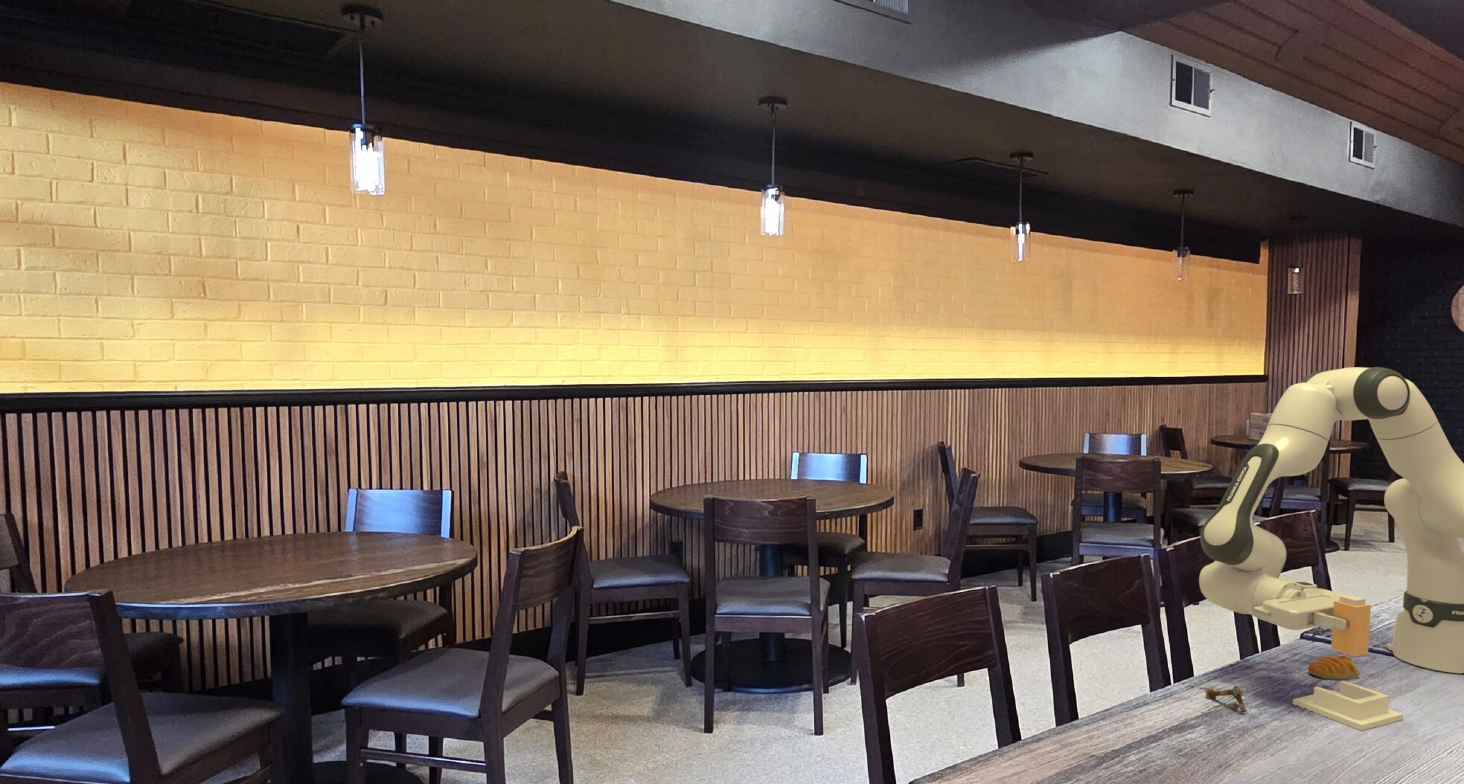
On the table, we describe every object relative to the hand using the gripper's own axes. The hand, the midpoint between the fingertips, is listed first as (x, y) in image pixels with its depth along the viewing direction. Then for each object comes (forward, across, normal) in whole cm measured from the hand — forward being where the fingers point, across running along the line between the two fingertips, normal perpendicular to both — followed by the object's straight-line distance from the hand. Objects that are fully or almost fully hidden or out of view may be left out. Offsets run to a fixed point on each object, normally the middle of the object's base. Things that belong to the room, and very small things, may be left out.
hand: (1356, 623), depth 156 cm
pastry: (-14, +17, +17) cm, 28 cm away
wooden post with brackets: (-11, -18, +17) cm, 27 cm away
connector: (-1, 0, +6) cm, 6 cm away
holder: (-1, 0, +17) cm, 17 cm away
